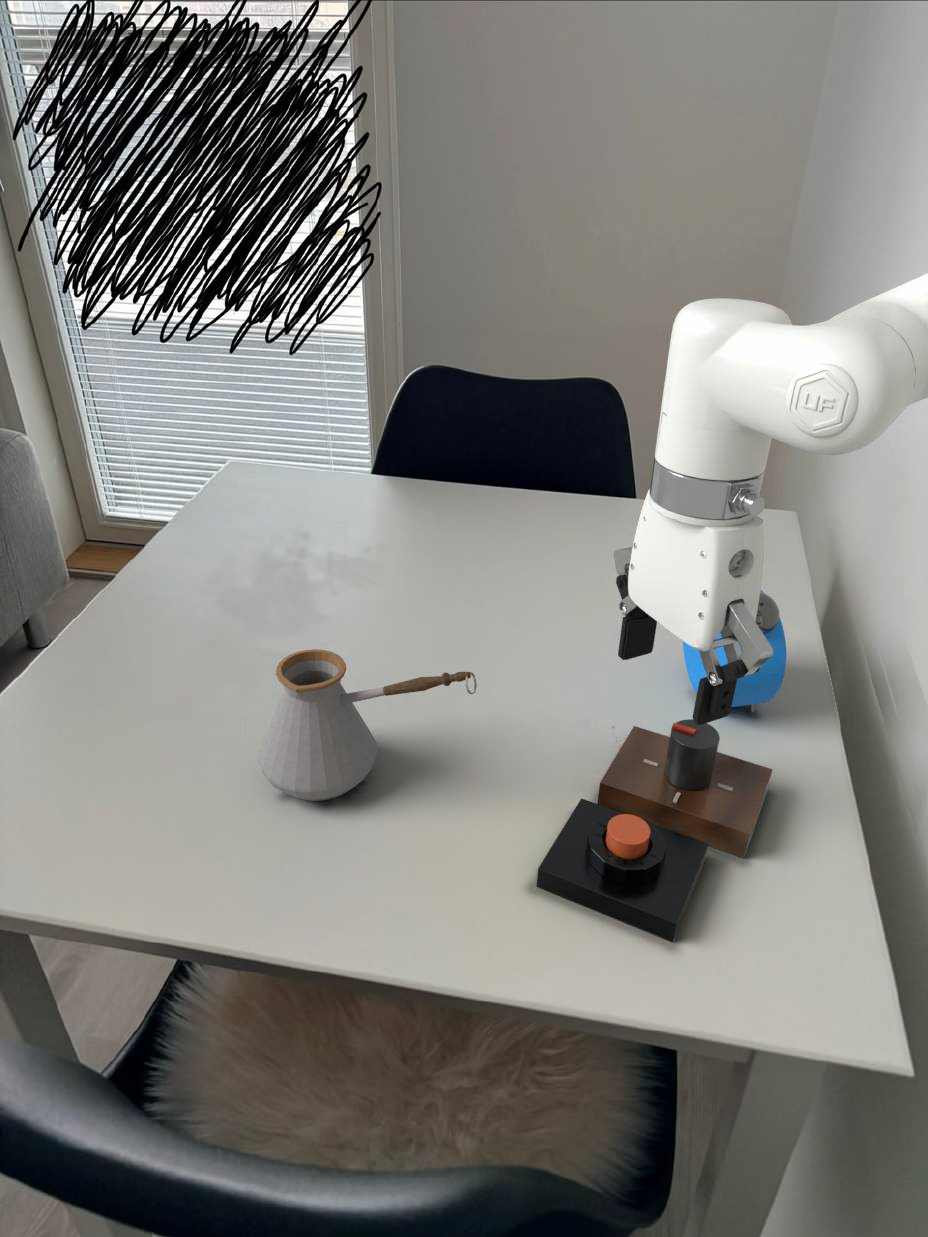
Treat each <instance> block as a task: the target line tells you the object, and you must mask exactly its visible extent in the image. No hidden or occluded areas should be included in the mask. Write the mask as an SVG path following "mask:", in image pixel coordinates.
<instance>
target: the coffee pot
mask: <svg viewBox="0 0 928 1237" xmlns="http://www.w3.org/2000/svg"><path fill="white" fill-rule="evenodd" d="M346 672H347V664H346V662H345V660H344V658H343V657H341V656H340V655H339V654H337V653H335V652H333V651H330V650H326V649H318V648H317V649H316V648H315V649H305V650H300V651H296V652H294V653H291V654H289V655H287V656H285V657H284V658H283V659H282V660H280V661H279V662H278V664H277V666H276V667H275V675H276V678H277V680H278V682H279V683H280V684H282V686H283V687H284V689H283V691H282V693H281V696H280V698H279V701H278V702H277V706H276V708H275V710H274V713H273V715H272V718H271V721H270V723H269V725H268V728H267V730H266V734H265V737H264V738H263V741H262V743H261V745H260V748H259V752H258V753H259V754H258V764H259V768H260V770H261V773H262V775H263V776H264V777H265V779H266V780H267V781H268V782H269V783H270V784H271V786H273V787H274V788H275V789H277V790H279V791H280V792H282V793H284V794H286V795H287V796H290V797H294V798H297V799H300V800H303V801H312V802H320V801H327V800H328V801H329V800H332V799H336V798H337V797H338V798H339V797H340V796H342V795H344V794H346V793H347V792H349V791H351V790H352V789H353V788H355V787H356V786H358V785H359V784H360V783H361V782H363V781H364V780H365V779H366V777H367V776H368V775H369V773H371V771H372V768H373V767H374V765H375V761H376V758H377V756H378V747H377V742H376V739H375V737H374V735H373V733H372V732H371V730H370V728H369V727H368V725H367V723H366V722H365V720H364V718H363V717H362V715H361V714H360V712H359V711H358V709H357V707H356V706H355V705H354V703H356V702H362V701H365V700H371V699H375V698H379V697H383V696H386V697H387V696H395V695H402V694H411V693H418V692H426V691H427V690H430V689H433V688H436V687H439V686H442V685H443V686H444V687H450V685H451V684H452V683H454V682H458V683H461V682H464V681H465V688H466V691H467V693H468V695H474V694H475V693H476V692H477V688H478V686H477V679H476V676H475V674H474V672H470V671H457V672H455V673H451V674H450V673H449V672H443V673H442V674H441V676H440V675H438V676H437V675H436V676H419V677H416V678H412V679H408V680H404V681H400V682H396V683H393V684H388V685H384V686H383V687H378V688H377V687H376V688H371V689H366V690H359V691H352V692H348V693H347V691H346V689H345V688H344V686H343V685H342V683H341V682H342V679H343V678H344V676H345V675H346ZM471 677H472V679H473V691H472V692H471V691H470V688H469V684H468V681H469V680H468V679H471Z"/></svg>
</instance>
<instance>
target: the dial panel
mask: <svg viewBox="0 0 928 1237" xmlns="http://www.w3.org/2000/svg"><path fill="white" fill-rule="evenodd" d="M669 740H670V736H668V735H665V734H661V733H658V732H655V731H652V730H649V729H646V728H644V727H643V728H642V727H639V726H636V725H633V727H632V728H631V730H630V732H629V733H628V735H627V736H626V738H625V740H624V741H623V743H622V744H621V747H620V748H619V750H618V752H617V753H616V755H615V756H614V758H613V759H612V761H611V763H610V765H609V767H608V769H607V770H606V771H605V773H604V775H603V777H602V778H601V780H600V782H599V786H598V788H599V789H598V796H597V802H596V804H599V805H602V806H605V807H607V808H610V809H613V810H616V811H619V812H621V813H624V814H631V815H634V816H637V817H640V818H643V819H645V820H648V821H650V822H651V823H652V824H655V825H658V826H661V827H663V828H666V829H669V830H672V831H675V832H677V833H680V834H683V835H686V836H689V837H691V838H694V839H697V840H700V841H703V842H705V843H708V844H709V845H708V847H711V848H713V849H716V850H719V851H722V852H724V853H728V854H729V855H733V856H736V857H739V858H741V859H745V857H746V854H747V852H748V849H749V846H750V844H751V843H750V842H751V839H752V837H753V834H754V831H755V828H756V826H757V822H758V819H759V816H760V814H761V811H762V808H763V805H764V802H765V801H766V800H765V799H766V796H767V794H768V790H769V786H770V782H771V778H772V774H773V768H770V767H766V766H764V765H760V764H757V763H754V762H751V761H747V760H744V759H741V758H738V757H735V756H731V755H729V754H725V753H723V752H720V751H717V754H716V759H715V764H714V769H713V774H712V778H711V782H710V784H709V785H708V786H707V787H705V788H703V789H701V790H685V789H681V788H679V787H676V786H675V785H673V784H672V783H670V782H669V781H668V780H667V778H666V777H665V774H664V769H665V763H666V757H667V751H668V745H669Z"/></svg>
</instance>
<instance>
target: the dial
mask: <svg viewBox="0 0 928 1237" xmlns="http://www.w3.org/2000/svg"><path fill="white" fill-rule="evenodd" d="M672 723H673V724H672V725H671V729H670V735H669V737H670V740H669V745H668V751H667V757H666V763H665V769H664V774H665V777H666V778H667V780H668V781H669V782H670V783H672V784H673V785H675V786H676V787H679V788H681V789H685V790H701V789H703V788H705V787H707V786H708V785H709V784H710V782H711V778H712V774H713V769H714V764H715V759H716V754H717V752H718V749H719V745H720V738H721V737H720V733H719V731H718V730H717V728H715V727H714V726H713V725H711V724H710V723H705V724H702V725H698V724H697V723H695V722H694V721H693V718H691V719H688V718H687V719H682V720H679V721H676V722H672Z"/></svg>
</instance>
